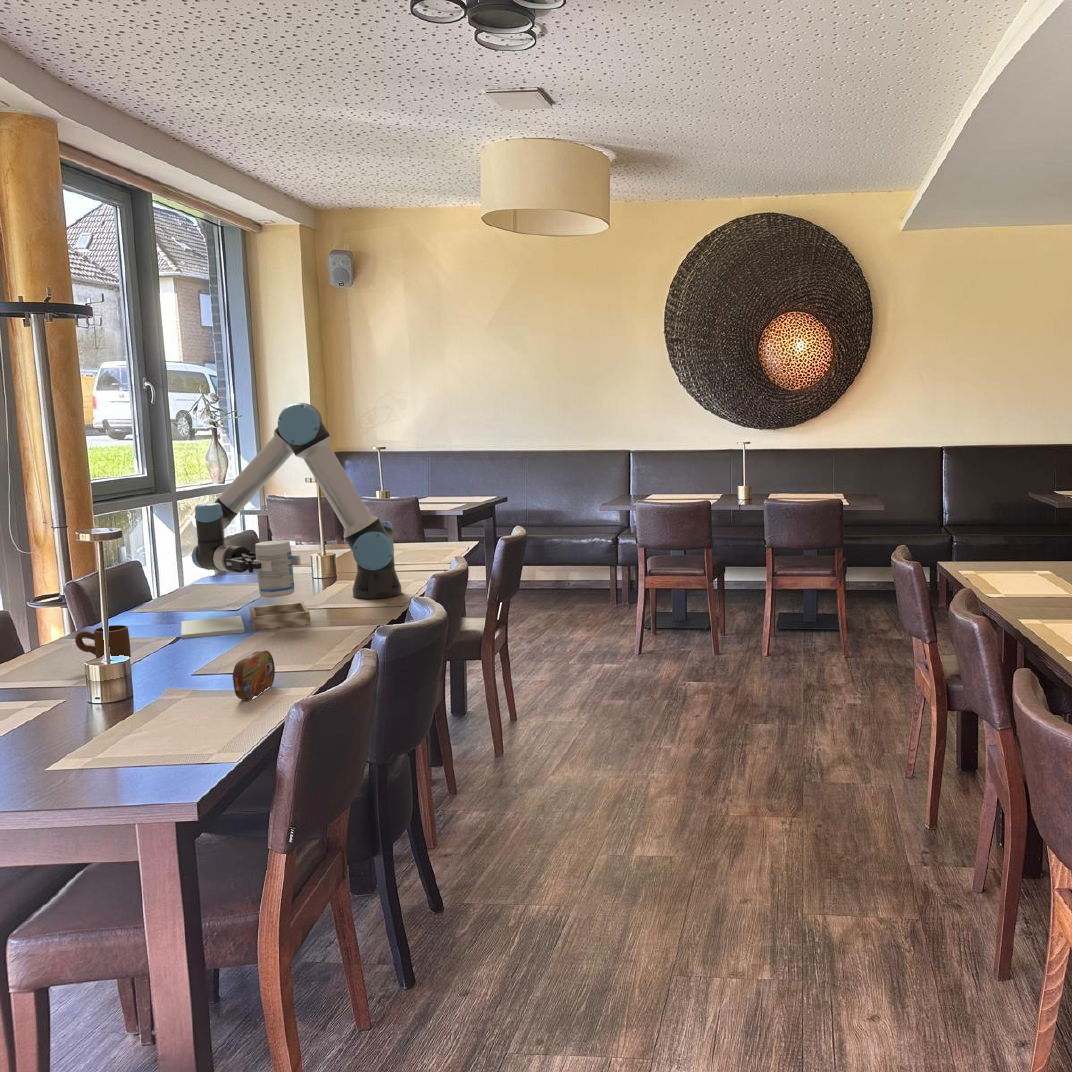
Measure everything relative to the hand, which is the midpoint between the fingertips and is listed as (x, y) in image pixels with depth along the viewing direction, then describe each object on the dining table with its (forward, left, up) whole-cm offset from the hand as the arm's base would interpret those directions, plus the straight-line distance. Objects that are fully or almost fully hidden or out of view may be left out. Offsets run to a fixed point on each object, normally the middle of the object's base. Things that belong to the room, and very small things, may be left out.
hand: (285, 563), depth 281 cm
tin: (+13, +67, -17) cm, 71 cm away
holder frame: (+2, -4, -17) cm, 17 cm away
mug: (+45, +29, -17) cm, 56 cm away
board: (+20, -4, -17) cm, 26 cm away
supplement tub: (+2, -4, -9) cm, 10 cm away
